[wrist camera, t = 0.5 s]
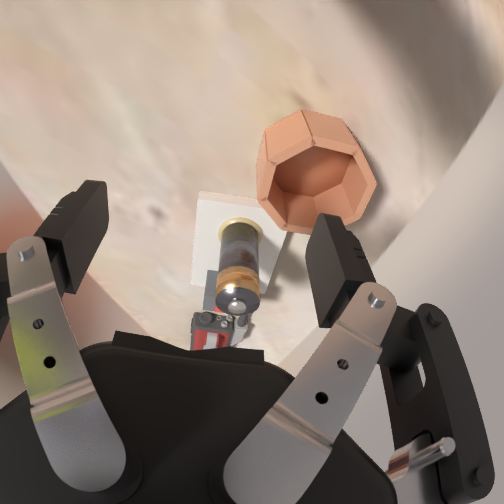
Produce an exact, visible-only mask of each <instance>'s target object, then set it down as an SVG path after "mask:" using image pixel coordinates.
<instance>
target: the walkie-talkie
mask: <svg viewBox="0 0 504 504" xmlns="http://www.w3.org/2000/svg"><path fill="white" fill-rule="evenodd" d="M246 318H247V315H241V316H240V317H239V318H238V319H235V318H233V317H232V316H231V315H228V316H222V315H214V314H210V313H208V312H203V313H198V312H195V313H194V316H193V318H192V323H191V333H192V335H191V347H190V350H202V349H212V348H221V347H230V346H233V345H235V344H238V343H240V342H242V340H243V338H244V335H245V333H246V332H247V329H248V321H247V320H246Z"/></svg>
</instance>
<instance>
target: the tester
mask: <svg viewBox="0 0 504 504" xmlns="http://www.w3.org/2000/svg"><path fill="white" fill-rule="evenodd" d="M236 222H243V223H247V224H250V225H252V226H253V227H254V228H255V229H256V230H257V232H258V247H259V279H260V294H265V292H266V289H267V286H268V284H269V281H270V278H271V275H272V273H273V270H274V267H275V264H276V262H277V259H278V256H279V253H280V251H281V248H282V245H283V242H284V239H285V237H286V234H287V231H282V229H281V230H280V228H279V227H278V226H277V225H276V223H275V222H274V221H273V220H272V218H271V217H270V216H269V215H268V214H267V212H266V211H265V210H264V209H263V207H262V206H261V205H260V204H259V203H258V201H257V199H254V198H247V197H241V196H234V195H228V194H221V193H214V192H207V191H200V192H199V197H198V204H197V214H196V224H195V234H194V245H193V257H192V269H191V282H190V285H195V286H202V287H205V294H204V302H203V310H209V311H215V312H222V311H221V310H219V309H218V308H217V306H216V303H215V295H216V284H217V276H218V268H219V258H220V247H221V238H222V232H223V230H224V228H225V227H226V226H228V225H230V224H232V223H236ZM222 313H224V312H222ZM247 315H251V313H250V314H247Z"/></svg>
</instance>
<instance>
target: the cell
mask: <svg viewBox="0 0 504 504" xmlns="http://www.w3.org/2000/svg"><path fill="white" fill-rule="evenodd" d="M215 303H216V306H217V308H218V309H219V310H221V311H222V312H224V313H226V314H229V315H236V316H241V315H247V314H250V313H253V312H254V311H256V310H257V309H258V307H259V305H260V279H259V247H258V232H257V230H256V229H255V228H254V227H253V226H252V225H250V224H247V223H243V222H236V223H232V224H230V225H228V226H226V227H225V228H224V230H223V232H222V238H221V247H220V258H219V268H218V276H217V284H216V295H215Z"/></svg>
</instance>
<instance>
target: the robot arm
mask: <svg viewBox="0 0 504 504" xmlns="http://www.w3.org/2000/svg"><path fill="white" fill-rule="evenodd" d="M108 223H109V212H108V198H107V185H106V182H104V181H94V180H86V181H85V182H84V183H83V184H82V185H81V186H80V188H79V189H78V190H77V191H76V192H71V193H69V194H68V195H66V196H65V197H63V198H62V199H61V200H60V201H59V203H58V204H57V205H56V208H54V209H53V210H52V211H51V213H50V215H48V217H47V218H46V219H45V220H44V222H43V223H42V225H41V226H40V227H39V228H38V230H37V231H36V233H35V234H34V235H33V236H27V237H23V238H21V239H19V240H17V241H15V242H14V243H13V244H12V245H11V246H10V248H9V249H8V251H7V253H0V341H1V338H2V336H3V334H4V331H5V329H6V326H7V324H8V322H9V319H10V323H11V328H12V333H13V338H14V343H15V347H16V352H17V356H18V360H19V364H20V368H21V372H22V375H23V379H24V383H25V386H26V389H27V390H25V391H24V392H23V393H21V394H20V395H19V396H17V397H16V398H15V399H14V400H12V401H11V402H9V403H8V404H7V405H6V406H4V407H3V408H2V409H0V504H469V503H471V502H474V501H477V500H480V499H482V498H484V497H485V496H487V495H488V494H489V492H490V491H491V489H492V487H493V484H494V478H495V476H494V475H495V473H494V467H493V461H492V457H491V452H490V448H489V443H488V439H487V434H486V430H485V427H484V423H483V419H482V415H481V412H480V408H479V405H478V401H477V398H476V395H475V392H474V388H473V385H472V382H471V379H470V376H469V373H468V370H467V367H466V364H465V361H464V359H463V356H462V353H461V351H460V348H459V345H458V343H457V340H456V337H455V335H454V332H453V330H452V327H451V326H450V323H449V320H448V318H447V316H446V315H445V314H444V313H443V312H442V310H440V309H439V308H438V307H436V306H434V305H432V304H428V303H424V304H421V305H420V306H419V308H418V309H417V310H416V311H415V312H413V311H410V310H408V309H405V308H402V307H400V306H397V303H396V299H395V297H394V296H393V294H392V293H391V292H390V291H389V290H388V289H386V288H385V287H383V286H382V285H380V284H378V283H376V280H375V278H374V275H373V273H372V270H371V268H370V265H369V263H368V261H367V259H366V256H365V253H364V251H363V249H362V246H361V244H360V242H359V240H358V239H357V238H356V237H355V236H354V234H353V233H352V232H351V231H347V230H346V228H345V226H344V224H343V221H342V219H341V217H340V216H336V215H331V214H326V213H320V214H319V215H318V217H317V220H316V223H315V225H314V228H313V231H312V233H311V236H310V239H309V241H308V244H307V248H306V254H305V259H306V265H307V269H308V274H309V279H310V284H311V288H312V293H313V298H314V303H315V308H316V313H317V318H318V324H319V327H320V328H331V329H330V331H329V333H328V334H327V335H326V337H325V338H324V340H323V341H322V342H321V344H320V345H319V347H318V348H317V349H316V351H315V352H314V353H313V355H312V356H311V358H310V359H309V360H308V362H307V363H306V364H305V366H304V367H303V368H302V370H301V371H300V372H299V374H298V375H297V376H296V378H294V377H293V376H292V375H291V374H289V373H288V372H286V371H285V370H283V369H282V368H280V367H278V366H276V365H274V364H271V363H269V362H266V361H264V350H255V349H244V348H234V347H221V348H212V349H202V350H190V351H189V350H184V349H181V348H179V347H176V346H173V345H171V344H168V343H165V342H163V341H160V340H158V339H155V338H153V337H150V336H143V335H138V334H132V333H126V332H120V331H115V334H114V338H113V341H107V342H101V343H97V344H93V345H90V346H88V347H85V348H83V349H82V350H80V349H79V346H78V344H77V341H76V338H75V336H74V333H73V330H72V328H71V325H70V322H69V320H68V317H67V314H66V311H65V308H64V305H63V302H62V299H61V298H62V296H63V294H64V292H66V293H71V294H76V292H77V290H78V288H79V286H80V283H81V281H82V279H83V277H84V275H85V273H86V271H87V269H88V267H89V265H90V263H91V261H92V259H93V257H94V255H95V253H96V251H97V249H98V247H99V245H100V243H101V241H102V239H103V237H104V236H105V234H106V231H107V228H108ZM420 362H422V365H423V369H424V373H425V377H426V382H425V386H424V388H423V385H422V381H421V377H420V373H419V369H418V366H417V365H418V364H419V363H420ZM376 364H379V365H380V369H381V374H382V379H383V384H384V389H385V394H386V399H387V404H388V410H389V416H390V422H391V428H392V435H393V441H394V448H395V452H394V453H393V454H392V456H391V457H390V460H389V465H388V468H387V469H386V471H385V472H384V471H383V470H382V469H381V468H380V467H379V466H378V465H377V464H376V463H375V462H374V461H373V460H372V459H371V458H370V457H369V456H368V455H367V454H366V453H365V452H364V451H363V450H362V449H361V448H360V447H359V446H358V445H357V444H356V443H355V442H354V440H353V439H352V438H351V437H350V436H349V435H348V434H347V433H346V432H345V431H344V430H343V429H342V427H343V426H344V424H345V422H346V420H347V419H348V417H349V415H350V413H351V412H352V410H353V408H354V406H355V404H356V402H357V400H358V399H359V397H360V395H361V393H362V391H363V389H364V387H365V385H366V383H367V381H368V379H369V377H370V375H371V373H372V371H373V369H374V367H375V365H376Z"/></svg>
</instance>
